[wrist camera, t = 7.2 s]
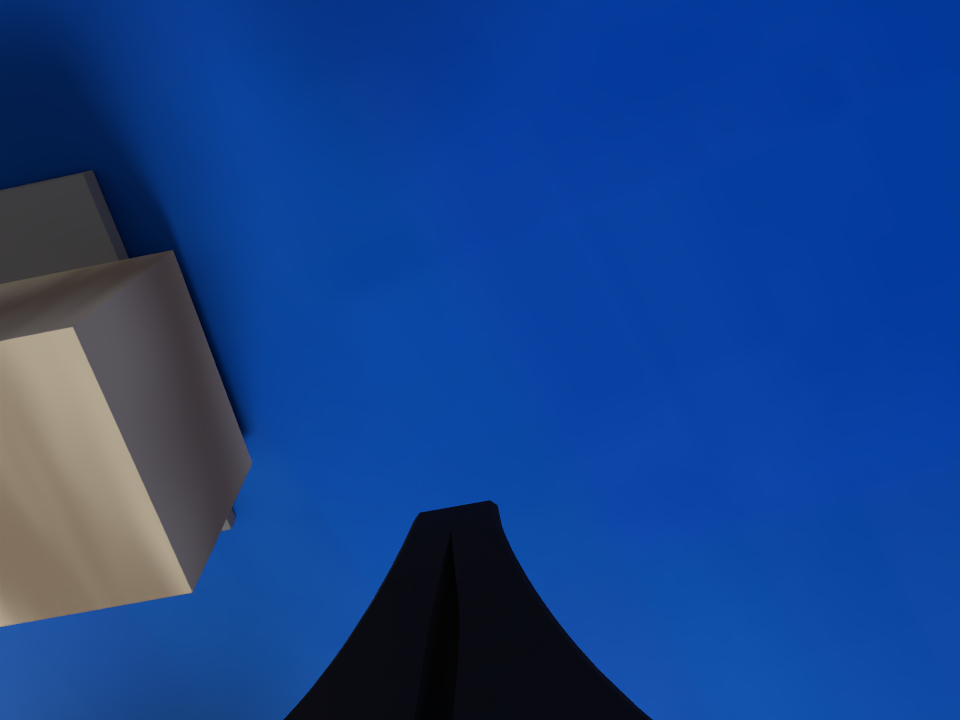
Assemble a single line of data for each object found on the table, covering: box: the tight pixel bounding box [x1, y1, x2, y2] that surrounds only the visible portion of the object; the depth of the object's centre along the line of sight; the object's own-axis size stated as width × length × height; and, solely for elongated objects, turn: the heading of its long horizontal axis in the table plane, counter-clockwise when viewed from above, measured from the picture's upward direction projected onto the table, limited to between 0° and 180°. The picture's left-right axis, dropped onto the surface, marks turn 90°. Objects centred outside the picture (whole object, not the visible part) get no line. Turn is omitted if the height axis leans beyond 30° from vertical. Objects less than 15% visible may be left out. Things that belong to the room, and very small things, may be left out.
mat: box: [0, 170, 236, 531], centre depth 19 cm, size 8×10×1 cm
